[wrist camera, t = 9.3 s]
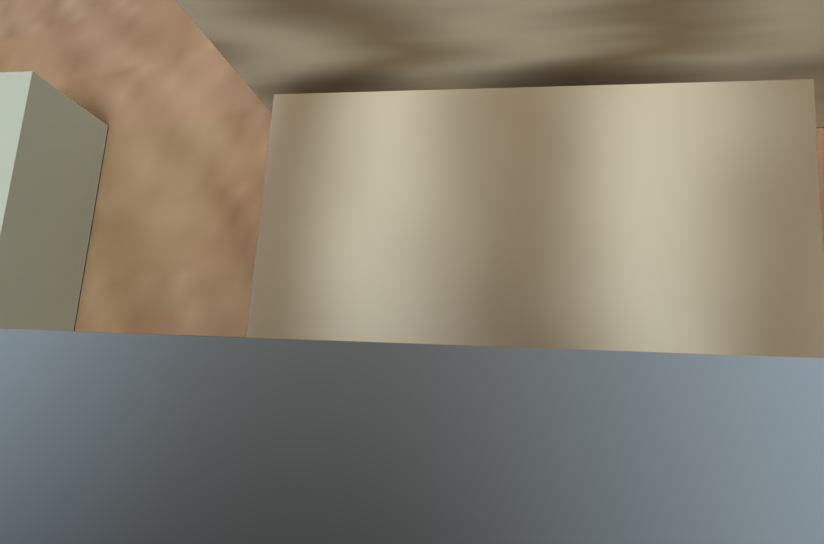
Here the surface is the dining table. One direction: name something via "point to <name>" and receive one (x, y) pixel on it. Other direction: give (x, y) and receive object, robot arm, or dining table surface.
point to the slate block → (401, 443)
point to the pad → (44, 201)
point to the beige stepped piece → (537, 171)
